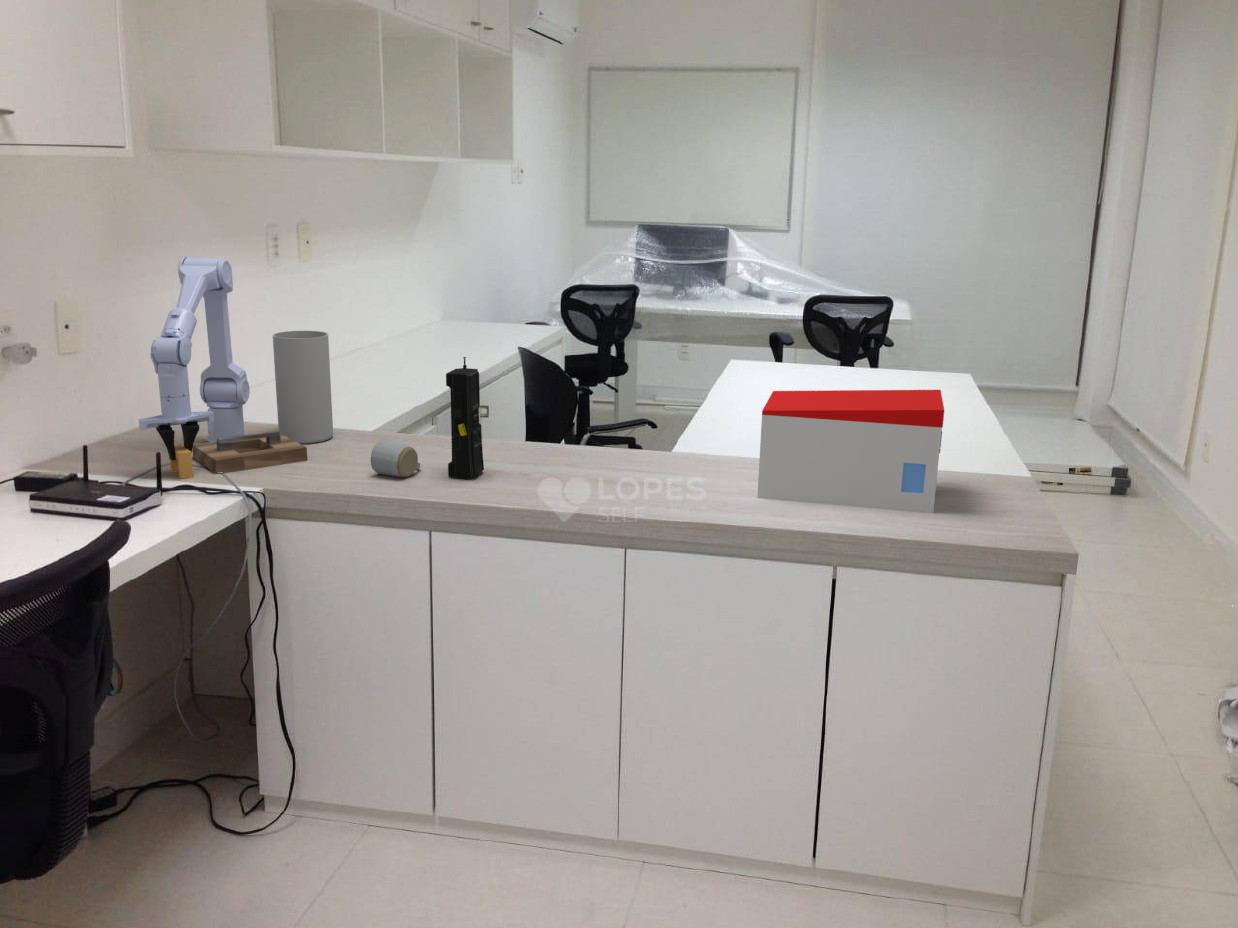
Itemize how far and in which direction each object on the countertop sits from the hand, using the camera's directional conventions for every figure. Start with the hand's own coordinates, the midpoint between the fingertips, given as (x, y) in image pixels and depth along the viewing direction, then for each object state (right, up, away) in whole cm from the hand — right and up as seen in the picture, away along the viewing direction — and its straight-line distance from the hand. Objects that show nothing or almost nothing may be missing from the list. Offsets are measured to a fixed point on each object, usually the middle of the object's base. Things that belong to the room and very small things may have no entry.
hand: (180, 458), depth 231 cm
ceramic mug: (+45, -4, +5) cm, 45 cm away
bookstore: (+140, -7, -1) cm, 140 cm away
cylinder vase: (+17, +5, +33) cm, 37 cm away
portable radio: (+60, -4, +4) cm, 60 cm away
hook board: (+10, 0, +13) cm, 17 cm away
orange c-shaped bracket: (0, -3, +1) cm, 3 cm away
